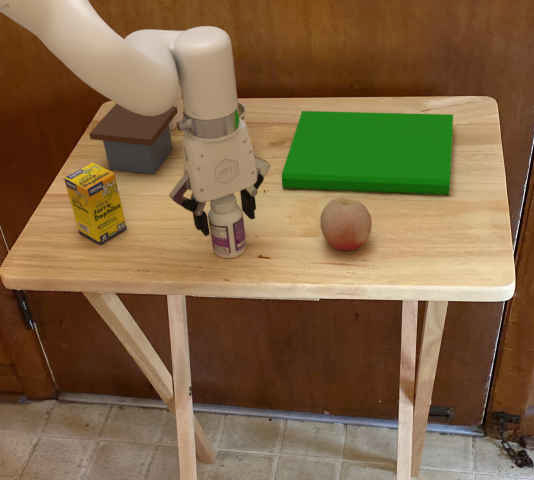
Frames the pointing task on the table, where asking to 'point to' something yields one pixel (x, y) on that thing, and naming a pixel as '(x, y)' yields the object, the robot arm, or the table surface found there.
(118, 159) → the stand
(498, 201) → the table surface
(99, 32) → the robot arm
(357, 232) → the fruit
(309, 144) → the book
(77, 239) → the table surface
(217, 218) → the pill bottle
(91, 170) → the supplement box
